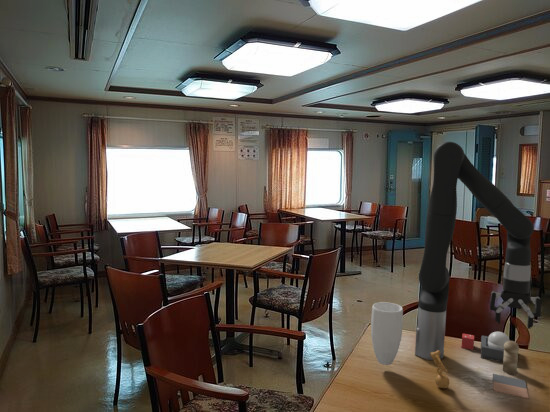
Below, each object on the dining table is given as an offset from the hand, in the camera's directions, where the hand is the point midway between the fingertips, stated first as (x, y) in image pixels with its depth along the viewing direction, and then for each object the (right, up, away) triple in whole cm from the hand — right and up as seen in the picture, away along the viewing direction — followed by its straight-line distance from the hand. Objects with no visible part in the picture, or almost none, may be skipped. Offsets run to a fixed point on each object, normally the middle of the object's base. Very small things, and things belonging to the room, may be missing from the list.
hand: (513, 325), depth 135 cm
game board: (-5, -17, -7) cm, 19 cm away
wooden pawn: (0, -16, +2) cm, 16 cm away
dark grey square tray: (+2, -15, +14) cm, 20 cm away
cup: (-42, -15, +1) cm, 45 cm away
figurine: (-28, -17, -9) cm, 34 cm away
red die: (-6, -14, +20) cm, 25 cm away
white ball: (+2, -13, +14) cm, 19 cm away
